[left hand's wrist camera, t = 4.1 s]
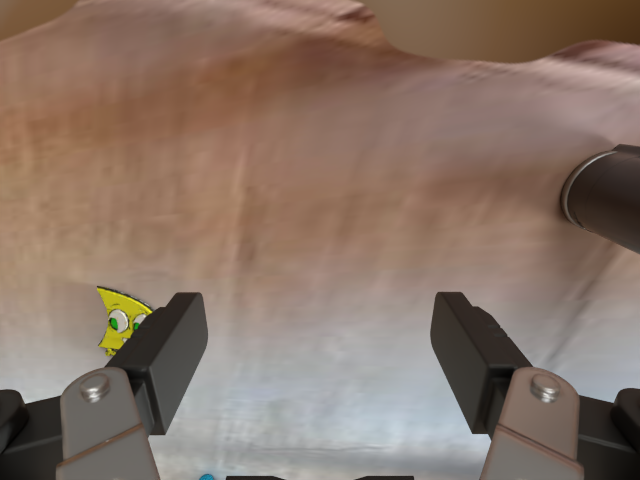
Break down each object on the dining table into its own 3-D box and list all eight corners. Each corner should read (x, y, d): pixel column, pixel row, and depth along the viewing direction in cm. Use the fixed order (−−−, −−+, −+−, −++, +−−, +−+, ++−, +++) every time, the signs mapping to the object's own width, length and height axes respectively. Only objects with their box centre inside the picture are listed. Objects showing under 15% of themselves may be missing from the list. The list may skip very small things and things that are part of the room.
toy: (93, 375, 49) (93, 289, 44) (97, 371, 50) (97, 285, 45) (163, 388, 50) (171, 305, 45) (166, 384, 51) (174, 301, 46)
